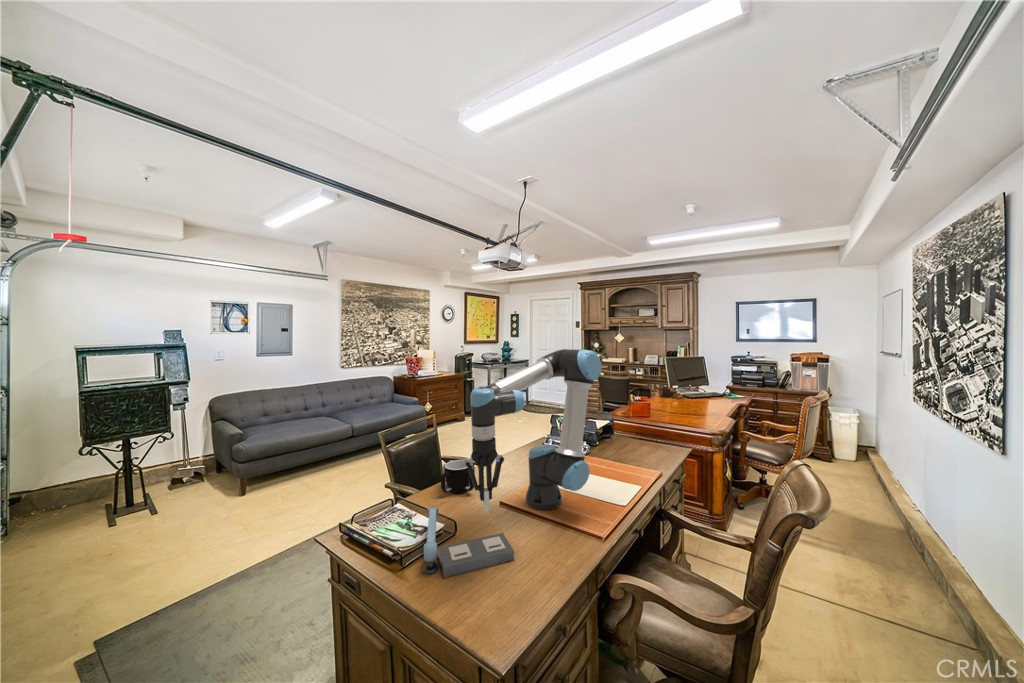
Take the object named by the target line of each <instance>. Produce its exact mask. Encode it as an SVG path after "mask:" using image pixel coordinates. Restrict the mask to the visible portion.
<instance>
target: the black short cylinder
mask: <svg viewBox="0 0 1024 683" xmlns="http://www.w3.org/2000/svg"><path fill="white" fill-rule="evenodd" d="M436 561H437V559H436V560H434V561H431V562H427V561H425V564H423V566H422V572H423V574H424V575H429V576H430V575H434V574H436V573H437V572H439V570H440V563H439V562H436Z"/></svg>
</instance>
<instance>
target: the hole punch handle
mask: <svg viewBox="0 0 1024 683" xmlns="http://www.w3.org/2000/svg"><path fill="white" fill-rule="evenodd" d="M426 513H427V514H426V515H427V518H428V522H427V523H428V525H427V533H426V534H427V535H426V543H424V544H423V560H424V561H425V562H426V561H427V562H431V561H434V560H436V561H437V559H438V543H437V542H436V536H437V535H436V532H437V518H438V517H439V513H440V512H439V506H434V507H428V508H427V509H426Z"/></svg>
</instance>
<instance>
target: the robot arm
mask: <svg viewBox="0 0 1024 683" xmlns="http://www.w3.org/2000/svg"><path fill="white" fill-rule="evenodd" d="M601 374H602V362H601V359H600V357H599V356H598V354H597V353H596V352H595V351H593V350H589V349H567V348H564V349H558V350H555V351H552V352H550V353H548V354H546V355H543V356H542V357H539V358H538V359H537V360H536V362H535V363H532V364H530V365H528V366H526V367H524V368H522V369H520V370H517V371H516V372H513V373H512V374H510V375H508V376H507V375H506V376H505V377H503V378H501V379H499V380H497V381H495V382H493V383H490V384H489V385H486V386H477V387H474V388H473V389H472V391H471V392H470V415H471V416H470V417H471V418H470V419H471V421H470V422H471V437H472V439H471V444H472V445H471V446H472V447H471V448H472V452H471V455H470V457H469V458H468V459H464V460H465V464H466V466H467V467H468V469H469V472H470V476H471V479H472V483H473V486H474V488H473V489H474V490H475V491H479V492H478V493H479V499H480V501H481V502H482V509H483V511H484V512H486V513H487V512H490V500H492V498H493V489H494V488H497V487H498V485H499V479H500V473H501V469H502V465H503V463H504V462H505V457H503V455H502V454H498V452H497V446H496V445H497V442H496V441H497V440H496V417H500V416H506V415H511V414H516V413H518V412H521V411H522V410H523V409H524V407H525V396H524V394H523V393H522V391H524V390H526V389H528V388H530V387H532V386H533V385H536V384H538V383H539V382H542V381H543V380H550V379H552V378H557V377H558V378H559V377H561V378H562V377H563V382H564V383H565V384H566V392H565V401H564V408H563V414H562V415H563V417H562V424H561V433H560V441H559V446H558V447H557V446H555V445H552V444H541V445H537V446H533V447H532V448H530V449H529V451H528V457H527V458H528V472H529V473H528V477H529V478H528V479H529V484H528V488H527V491H526V494H525V503H526V502H527V503H526V505H527V504H528V505H530V506H531V507H530V506H529V507H530V508H532V507H534V508H537V509H536V510H539V509H550V510H554V509H557V508H558V507H557V506H559V505H560V504H561V503H563V496H562V493H561V490H560V488H559V487H561V488H563V489H565V490H569V491H571V492H577V491H579V490H581V489H582V488H583V487H584V486H585V485H586V484H587V482H588V480H589V478H590V471H591V470H590V466H589V464H588V463H587V462H586V461H585V456H586V455H585V453H584V452H583V450H582V449H583V441H584V432H585V423H586V416H587V408H588V407H587V406H588V401H589V400H588V398H589V390H590V388H592V387H593V386H594V381H596V380H597V379H599V378H600V375H601ZM494 461H495V466H494V469H493V467H492V465H493V463H494ZM473 463H474V464H476V466H477V468H478V481H477V478H476V475H475V474H474V470H473V468H472V465H473ZM492 469H493V470H494V471H492ZM484 471H486V472H484ZM485 473H486V475H485ZM492 473H493V474H492ZM484 475H485V476H486V477H485V476H484ZM492 475H493V476H492ZM485 478H486V487H485ZM528 505H527V506H528ZM561 505H562V504H561ZM561 505H560V506H561ZM560 506H559V507H560ZM556 507H557V508H556ZM534 508H533V509H534ZM553 508H554V509H553Z"/></svg>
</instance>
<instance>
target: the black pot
mask: <svg viewBox="0 0 1024 683" xmlns="http://www.w3.org/2000/svg"><path fill="white" fill-rule="evenodd" d="M465 460H466V459H457V460H451V461H448V462H446V463H444V464H443V467H442V469H443V470H442V472H443V473H442V474H441V475H440V486H441V487H440V488H441V489H442V492H444V493H450V494H453V495H459V494H460V495H461V494H464V493H467V492H471V491H473V490H474V489H475V488H474V486H473V483H472V479H471V476H470V472H469V469H468V467H467V466H466V464H465ZM472 468H473V470H474V474H475V473H476V472H475V470H476V469H475V468H476V467H475V462H473V465H472ZM446 487H447V488H446Z"/></svg>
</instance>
